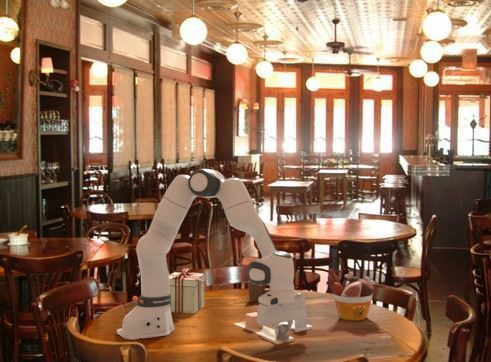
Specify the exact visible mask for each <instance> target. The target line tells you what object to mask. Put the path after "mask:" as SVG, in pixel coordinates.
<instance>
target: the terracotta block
mask: <svg viewBox="0 0 491 362" xmlns="http://www.w3.org/2000/svg"><path fill="white" fill-rule="evenodd" d="M244 322H245V327H247V328H250V329H257V328H263V325H260V324H259V323H258V322H257V312H256V311H255V312H249V313H245V314H244Z"/></svg>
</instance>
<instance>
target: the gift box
mask: <svg viewBox="0 0 491 362" xmlns="http://www.w3.org/2000/svg"><path fill="white" fill-rule="evenodd" d="M191 270H192V268H182V269H181V271H180V272H175V271H174V272H173V273H169V285H170V294H171V307H170V308H171V313H178V314H179V313H180V314H196V313H197V312H199V311H200V310H201V309H203V308H204V307H205V282H206V272H203V273H202V272H201V273H200V272H190V271H191Z"/></svg>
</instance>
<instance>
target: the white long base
mask: <svg viewBox="0 0 491 362" xmlns="http://www.w3.org/2000/svg"><path fill="white" fill-rule="evenodd" d="M233 325H236V326H238V327H241V328H243V329H244V330H247V331H250V332H252V333H255V334H257V335H258V336H257V337H258V338H261V339H263V340H266V341H267V342H270V343H273V344H275V345H280V344H286V343H290V342H294V341H296V337H295V336H292V335H290V333H289V325H286V324H284V323H281V324H279V323H278V326H277V327H278V329H279V330H281V332H280V333H281V334H280V335H275V330H274V328H271V327H268V326H267V325H266V326H263V328H257V329H250V328H247V327H245V321H241V322H235V323H233Z"/></svg>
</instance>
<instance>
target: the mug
mask: <svg viewBox="0 0 491 362" xmlns="http://www.w3.org/2000/svg"><path fill="white" fill-rule="evenodd" d="M266 287H270V286H269V285H261V286H258V285H253V284H252V283H251V282H250V281H249V280H248V301H249V302H250V303H253V304H254V303H255V304H257V303H258V304H260V302H259V301H258V298H259V297H260V296H262V295H264V294H265V293H267V292H268V291H270V288H269V289H266Z"/></svg>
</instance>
